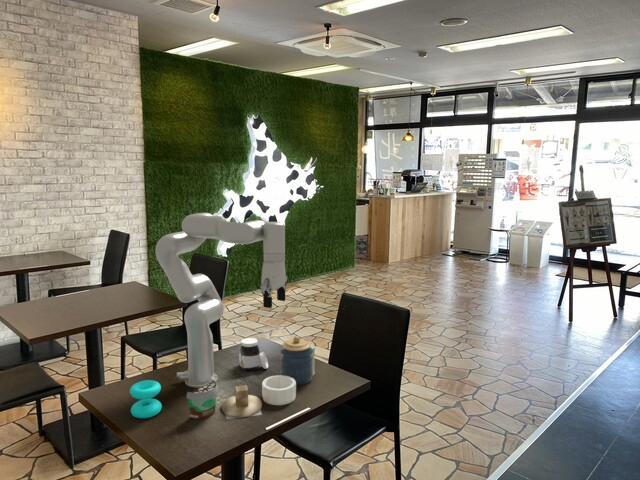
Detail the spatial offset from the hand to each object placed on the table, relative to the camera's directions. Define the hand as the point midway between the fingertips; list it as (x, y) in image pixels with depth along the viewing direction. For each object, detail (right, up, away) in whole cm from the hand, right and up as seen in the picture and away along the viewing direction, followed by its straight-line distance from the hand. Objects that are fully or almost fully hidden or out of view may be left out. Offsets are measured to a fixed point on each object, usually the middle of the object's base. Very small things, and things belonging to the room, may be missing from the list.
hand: (274, 303), depth 172 cm
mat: (-11, -36, -3) cm, 38 cm away
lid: (-11, -36, -3) cm, 38 cm away
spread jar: (-11, -31, +31) cm, 45 cm away
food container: (-22, -37, -8) cm, 44 cm away
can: (+10, -32, +25) cm, 42 cm away
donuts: (-43, -37, -7) cm, 57 cm away
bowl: (+1, -35, +4) cm, 35 cm away
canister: (+7, -33, +20) cm, 39 cm away
